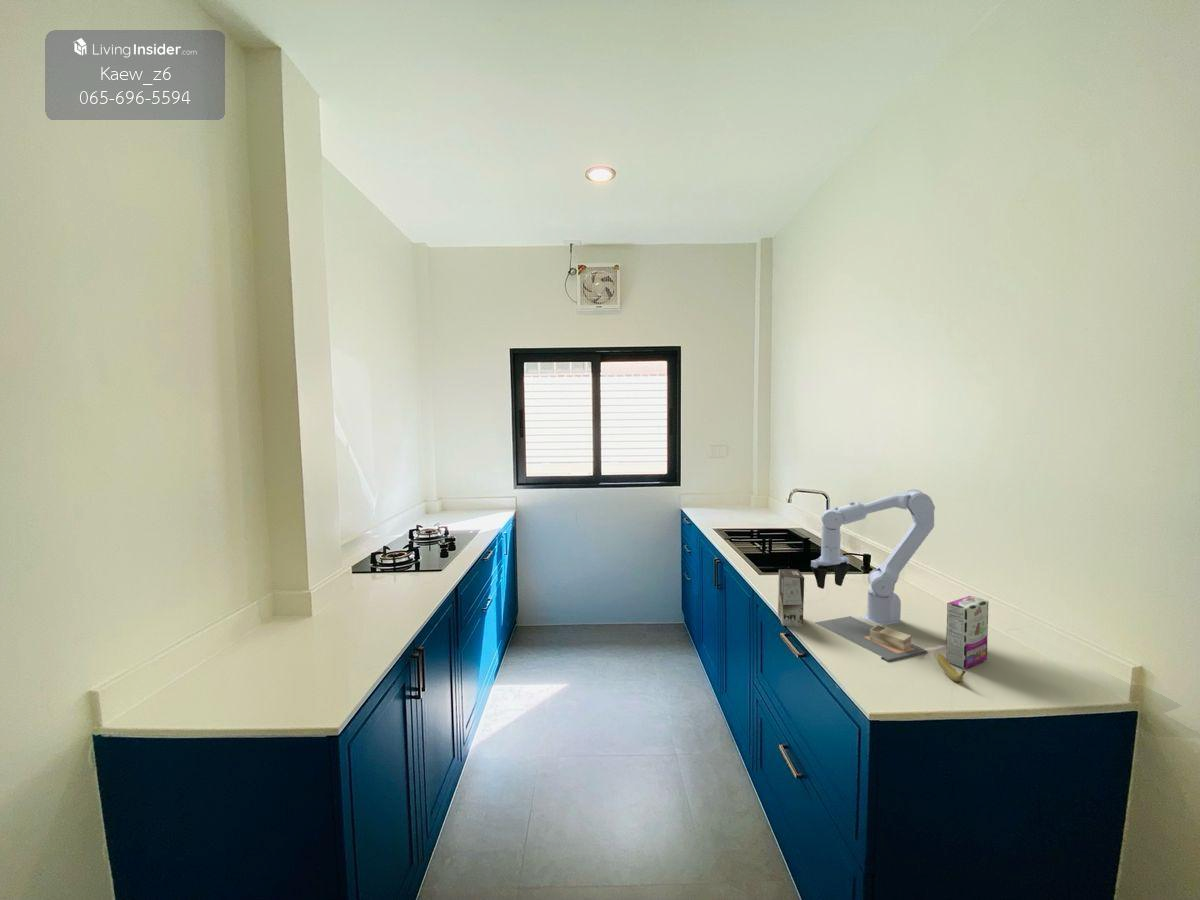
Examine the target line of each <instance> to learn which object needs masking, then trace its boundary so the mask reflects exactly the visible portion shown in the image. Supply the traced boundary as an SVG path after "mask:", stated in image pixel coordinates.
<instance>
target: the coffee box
mask: <svg viewBox="0 0 1200 900" xmlns="http://www.w3.org/2000/svg"><path fill="white" fill-rule="evenodd" d="M777 597H778V598H777V599H778V602H777V604H778V605H777V610H778V611H777V616H778V619H779V620H780V623H781V626H786V627H797V628H803V627H804V604H805V603H804V602H805V601H804V598H805V576H803V574H802V573H801V571H800V570H799V569H787V568H784V569H781V568H780V569H778V596H777Z"/></svg>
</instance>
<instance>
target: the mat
mask: <svg viewBox="0 0 1200 900" xmlns="http://www.w3.org/2000/svg"><path fill="white" fill-rule="evenodd" d="M814 624H816V625H818V626H821V627H822V628H824V629H826V630H828V631H830V632H832V633H834V634H836V635H838V636H840V637H842V638H844V639H845V640H848V641H850V642H852V643H854V644H856V645H858V646H859V647H861V648H864V649H865V650H868V651H870V652H871V653H874V654H876V655H878V656H879V657H880V659H881V660H883V661H885V662H887V663H888V662H892V661H897V660H901V659H906V658H911V657H913V656H914V657H916V656H919V655H924V654H927V653H928V650H927V649H924V648H923V647H920V646H918V645H917V644H913V643H911V646H910V647H909V648H907V649H906V650H904V651H903V650H900V649H897V648H894V647H891V646H888V645H885V644H882V643H878V642H875V641H872V640H870V629H872V628H874V627H875V626H873V625H871V624H869V623H868V622H864V621H862V620H860V619H858V618H855V617H853V616H852V615H850V616H849V615H848V616H843V617H838V618H837V617H836V618H833V619H827V620H821V621H815V622H814Z"/></svg>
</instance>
